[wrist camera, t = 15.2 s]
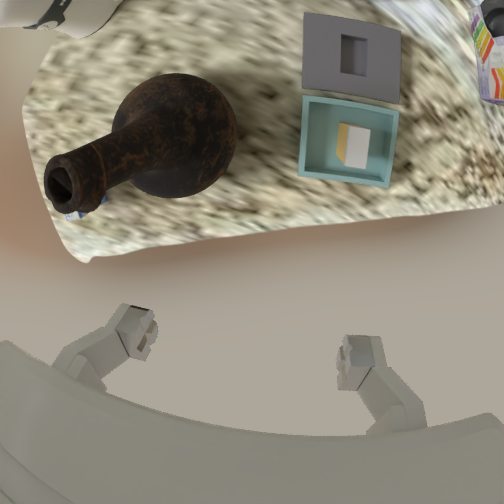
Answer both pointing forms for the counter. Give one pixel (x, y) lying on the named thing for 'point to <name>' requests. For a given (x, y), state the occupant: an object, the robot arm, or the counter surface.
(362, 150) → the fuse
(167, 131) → the dark brown vase
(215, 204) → the counter surface
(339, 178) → the parts tray
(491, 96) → the cake pan box
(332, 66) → the socket block
